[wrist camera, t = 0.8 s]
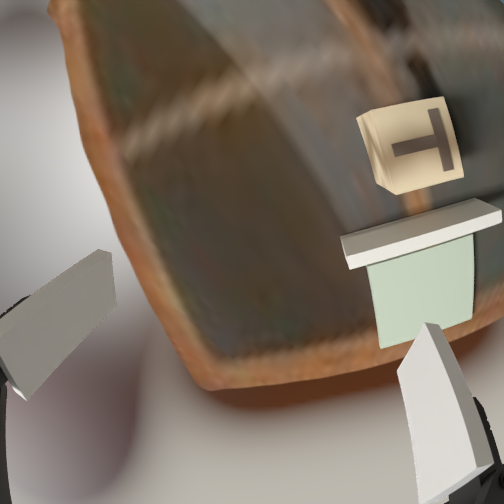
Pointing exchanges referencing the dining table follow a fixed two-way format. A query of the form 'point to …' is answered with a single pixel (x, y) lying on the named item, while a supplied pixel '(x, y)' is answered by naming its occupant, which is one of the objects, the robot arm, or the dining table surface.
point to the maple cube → (411, 145)
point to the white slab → (418, 231)
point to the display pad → (423, 289)
